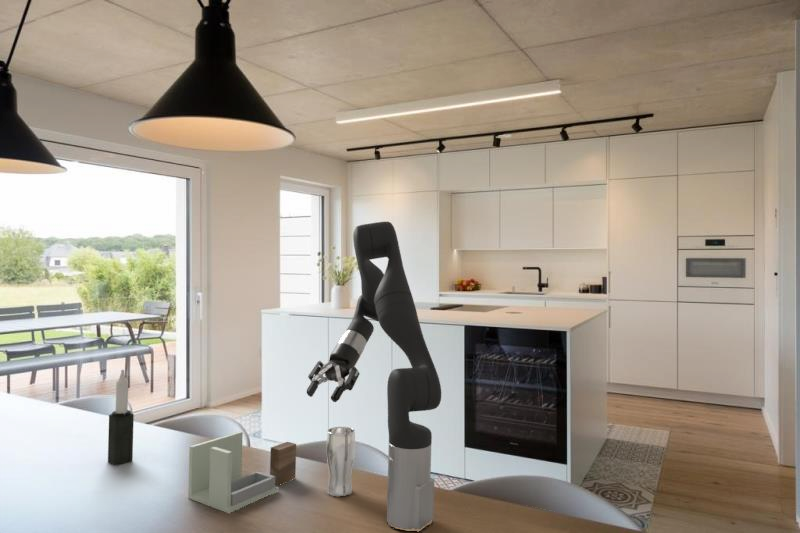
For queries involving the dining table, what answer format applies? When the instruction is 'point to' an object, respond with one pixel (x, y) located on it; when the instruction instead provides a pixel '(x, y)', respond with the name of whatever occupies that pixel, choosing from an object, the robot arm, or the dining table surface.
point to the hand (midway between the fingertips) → (320, 397)
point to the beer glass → (340, 460)
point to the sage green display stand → (225, 475)
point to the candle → (121, 426)
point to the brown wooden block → (283, 462)
